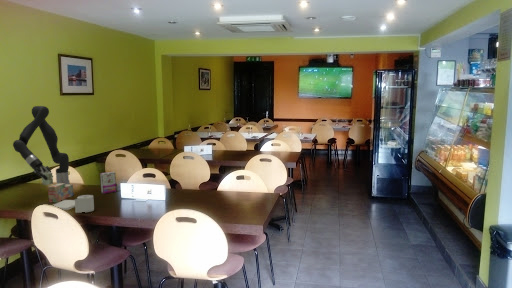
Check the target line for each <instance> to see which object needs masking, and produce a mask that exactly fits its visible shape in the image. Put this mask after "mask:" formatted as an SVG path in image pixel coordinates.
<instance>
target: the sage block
mask: <svg viewBox="0 0 512 288" xmlns="http://www.w3.org/2000/svg"><path fill="white" fill-rule="evenodd" d="M44 175H45V176H46V177H47V178H48V179H47V180H45V179H44V178H43V177H41V183H42V186H45V185H46V186H51V185H54V179H53V178H54V175H53V172H51V173H48V172H47V173H44Z"/></svg>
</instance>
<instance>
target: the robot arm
mask: <svg viewBox="0 0 512 288" xmlns="http://www.w3.org/2000/svg"><path fill="white" fill-rule="evenodd" d="M31 115H32V117H33V118H34V119H33V120H32V121H31V122H29V123H28V124H27V125H26V126H25V127H24V128H23V129H22V131H21V133H20V134H19V136H18V137H19V138H18V139H15V140H14V141H13V143H12V147H13V149H14V151H15V152H17V153H19V154H20V156H21V157H22V159H23V160H24V161H25V162H26V163H27V164H28V165H29V167H30V168H31V169H32V170H33V171H32V173H34V174H35V175H36V176H37V177H39V178H40V177H41V178H42V177H43V178H44V179H45V180H47V179H48V178H47V177H46V176H45V175H44V173H52V170H51V168H50V167H49V166H48V165H46V166H44V165H43V162H42V161H41V160H40V159H39V158H38V156H37V155H35V153H33V152H32V151H31V150H30V149H29V148H28V144H29V141H30V139H31V138H32V136H33V135H34V133H35V131H36V130H37V129H38V128H39V130H40V132H41V134H42V136H43V138H44V140H45V142H46V145H47V148H48V149H49V152H50V155H51V159H52V162H53V163H55V164H57V165H59V167H57V168H56V169H55V177H56V178H55V179H56V184H57V183H65V184H71V183H70V179H69V178H70V177H69V167H70V158H69V154H67V153H66V152H60V150H59V148H58V135H57V133H56V130H55V129H54V128H53V126H51V125H50V123H49V122H47V120H46V118H47V117H48V116H49V115H50V110H49V108H48V106H44V105H36V106H35V105H34V106H33V107H31Z"/></svg>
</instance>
